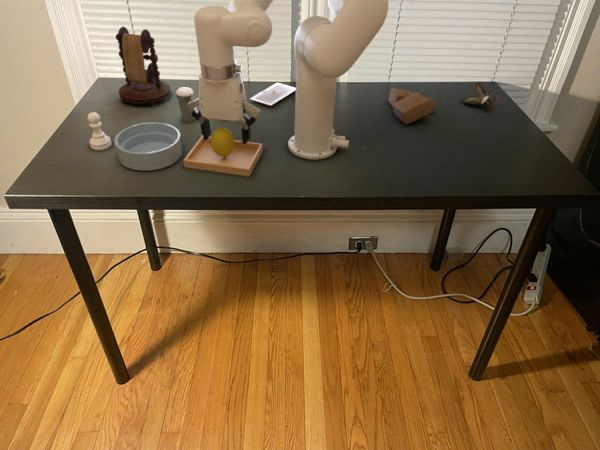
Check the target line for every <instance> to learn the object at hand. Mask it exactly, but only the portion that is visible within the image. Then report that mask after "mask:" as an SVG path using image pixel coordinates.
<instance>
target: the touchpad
mask: <svg viewBox="0 0 600 450" xmlns="http://www.w3.org/2000/svg"><path fill="white" fill-rule="evenodd" d="M293 92H296V86H295V87H294V86H290V85H287V84H285V83H280V82H276V83H274V84H272V85H270V86H269V87H267V88H266V89H264V90H262V91H260V92H258V93H256V94H255V95H253V96H251V97H250V98H249V100H251V101H254V102H258V103H261V104H264V105H267V106H273V105H274V104H276V103H278V102H279V101H280V100H283V99H285V98H286V97H288V96H289V95H290V94H292V93H293Z"/></svg>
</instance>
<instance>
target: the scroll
mask: <svg viewBox="0 0 600 450" xmlns="http://www.w3.org/2000/svg"><path fill="white" fill-rule="evenodd" d="M115 40H117V44H118V50H119V51H118V57H119V58H120V59H121V60H122V64H121V65H122V66H123V67H122V71H123V73H124V76H125V82H126V83H125V84H123V85H122V86H121V87H120V88H119V89H118V95H119V98H120V99H121V101H122V103H131V104H141V105H142V104H151V106H152V107H155V105H156V102H160V101H163V100H165V99H167V98H168V97H169V96H170V95H171V92H172V91H171V90H172V89H171V86H170V85H169V84H168V83H167V82H165V81H163V80H161V77H160V76H161V73H160V72H161V71H159V66H158V64H157V63H158V61H159V56H158V55H157V54H156V49H155V43H156V41H155V38H154V37H152V36H151V32H150V31H149V30H148V28H147V29H146V28H145V29H143V30H141V33H140V34H134V33H130V32H129V30H128V28H127V27H125V26H120V28H119V30H118V32H117V33H116V35H115ZM148 53H150V55H149V54H148ZM145 60H147V61H150V62H149V64H148V65H147V68H146V67H145Z"/></svg>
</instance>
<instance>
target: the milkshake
mask: <svg viewBox="0 0 600 450" xmlns="http://www.w3.org/2000/svg"><path fill="white" fill-rule="evenodd" d="M195 89H196V86H194V87H193V89H192V88H191V87H188V86H181V87H179V88H178V89H177V90H176V92H175V95H176V97H177V101H178V106H179V109H180V114H181V115H180V116H181V120H182V121H183V122H185V123H191V122H193V121H195V118H194V117H193V116H192V113H191V112H190V111H189V109H188V108H187V104H188V103H189V102H191V101H193V100H195V97H194V94H195V93H194V92H195Z"/></svg>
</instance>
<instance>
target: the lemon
mask: <svg viewBox="0 0 600 450" xmlns="http://www.w3.org/2000/svg"><path fill="white" fill-rule="evenodd" d="M211 137H212V140H211V144H212V148H213V150H214V152H215V153H216V154H217V155H219V156H222V157H226V156H228V155H230V154H231V153H232V152H233V150H234V146H235V141H234V140H235V138H234V134H233V133H232V131H230V130H229V129H228V128H226V127H224V126H223V127H222V126H221V127H219V128H217V129H215V130H214V131H213V133H212V134H211Z"/></svg>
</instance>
